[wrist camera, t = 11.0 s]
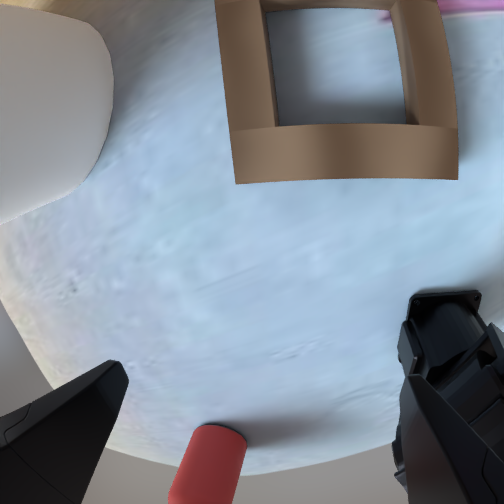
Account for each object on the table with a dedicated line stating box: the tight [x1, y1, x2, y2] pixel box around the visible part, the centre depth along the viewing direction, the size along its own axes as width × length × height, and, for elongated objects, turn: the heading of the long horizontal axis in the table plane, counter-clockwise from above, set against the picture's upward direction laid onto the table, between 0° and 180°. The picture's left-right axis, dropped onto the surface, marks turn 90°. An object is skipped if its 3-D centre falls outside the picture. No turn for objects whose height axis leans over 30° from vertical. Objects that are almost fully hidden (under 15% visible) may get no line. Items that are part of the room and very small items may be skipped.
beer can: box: [168, 425, 247, 504], centre depth 26 cm, size 7×7×12 cm
